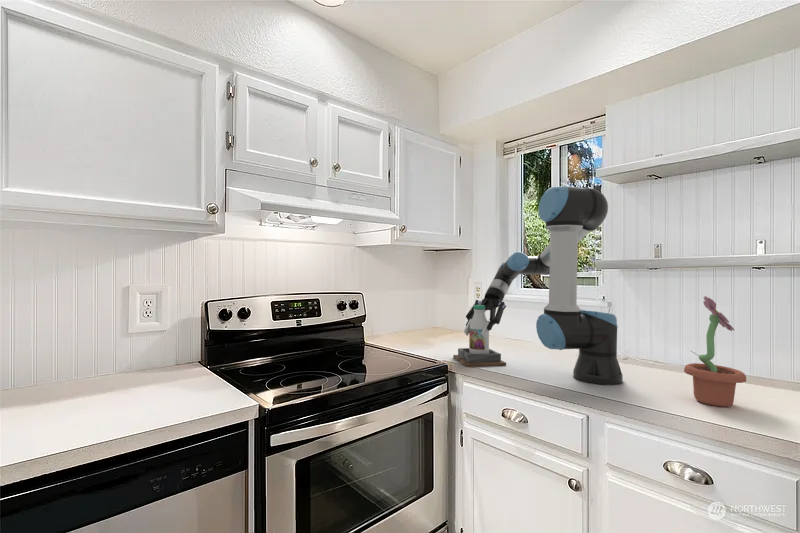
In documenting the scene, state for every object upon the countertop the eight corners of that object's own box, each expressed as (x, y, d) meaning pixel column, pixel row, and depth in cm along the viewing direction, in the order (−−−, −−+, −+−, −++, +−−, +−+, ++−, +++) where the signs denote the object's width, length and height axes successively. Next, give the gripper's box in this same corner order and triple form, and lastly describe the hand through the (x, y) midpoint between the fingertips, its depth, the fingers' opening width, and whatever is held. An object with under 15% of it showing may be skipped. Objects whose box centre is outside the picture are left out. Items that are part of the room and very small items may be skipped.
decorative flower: (753, 416, 103) (754, 299, 104) (687, 406, 110) (688, 296, 110) (739, 400, 116) (739, 296, 117) (681, 392, 123) (681, 294, 123)
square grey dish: (506, 365, 155) (506, 354, 155) (466, 366, 153) (466, 355, 153) (489, 356, 171) (489, 346, 171) (453, 357, 168) (453, 347, 168)
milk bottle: (477, 352, 167) (477, 304, 167) (492, 355, 161) (493, 305, 162) (465, 354, 162) (465, 304, 163) (480, 358, 156) (480, 306, 157)
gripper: (521, 299, 166) (500, 344, 154) (479, 297, 180) (457, 337, 168) (515, 287, 162) (493, 331, 150) (472, 285, 176) (449, 325, 165)
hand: (474, 334), depth 159 cm, fingers closed on milk bottle, 7 cm apart
